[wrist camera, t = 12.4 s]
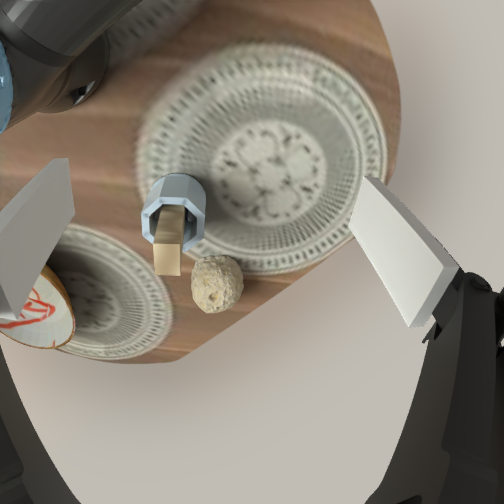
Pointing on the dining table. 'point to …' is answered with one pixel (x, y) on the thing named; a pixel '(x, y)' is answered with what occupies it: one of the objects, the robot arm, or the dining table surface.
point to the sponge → (216, 283)
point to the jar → (181, 193)
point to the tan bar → (169, 240)
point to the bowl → (43, 315)
